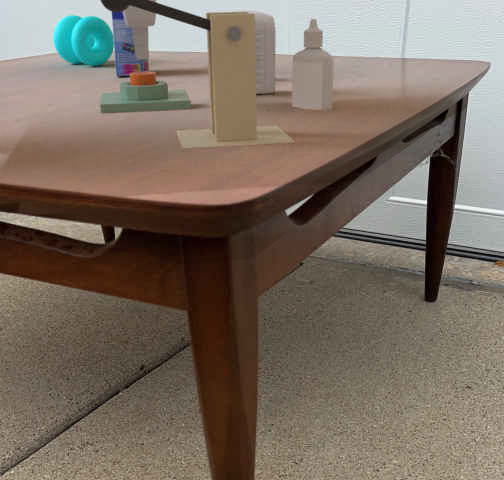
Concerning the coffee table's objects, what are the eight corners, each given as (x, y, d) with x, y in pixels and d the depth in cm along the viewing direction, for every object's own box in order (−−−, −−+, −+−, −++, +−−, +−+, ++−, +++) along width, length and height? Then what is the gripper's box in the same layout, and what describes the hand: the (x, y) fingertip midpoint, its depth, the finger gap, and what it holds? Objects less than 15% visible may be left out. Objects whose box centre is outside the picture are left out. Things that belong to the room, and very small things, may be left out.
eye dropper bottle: (304, 119, 90) (305, 21, 85) (289, 112, 95) (289, 18, 90) (335, 117, 91) (338, 19, 86) (318, 110, 96) (320, 17, 91)
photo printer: (271, 90, 113) (270, 8, 108) (279, 94, 109) (278, 10, 104) (210, 94, 111) (206, 11, 105) (215, 98, 107) (212, 12, 102)
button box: (101, 121, 92) (98, 90, 90) (103, 108, 101) (100, 80, 99) (191, 116, 93) (189, 86, 92) (185, 104, 102) (183, 76, 101)
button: (130, 88, 94) (129, 75, 93) (130, 84, 97) (129, 71, 96) (157, 87, 94) (156, 74, 93) (156, 83, 97) (155, 70, 97)
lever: (95, 7, 67) (102, -28, 66) (96, 6, 70) (103, -28, 69) (240, 52, 71) (249, 21, 70) (236, 49, 74) (244, 19, 73)
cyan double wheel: (93, 61, 157) (87, 13, 153) (118, 64, 151) (114, 14, 146) (54, 65, 151) (47, 16, 146) (79, 68, 144) (73, 17, 140)
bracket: (183, 159, 72) (174, 17, 66) (177, 141, 80) (168, 12, 74) (295, 152, 74) (296, 13, 68) (278, 135, 82) (277, 9, 76)
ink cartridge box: (145, 77, 131) (138, -7, 125) (115, 77, 131) (107, -6, 125) (151, 70, 140) (145, -8, 134) (123, 71, 140) (116, -7, 133)
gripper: (109, -52, 97) (119, 52, 103) (105, -59, 79) (118, 68, 84) (154, -53, 98) (161, 50, 104) (161, -60, 79) (170, 66, 85)
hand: (142, 58), depth 94 cm, fingers closed
